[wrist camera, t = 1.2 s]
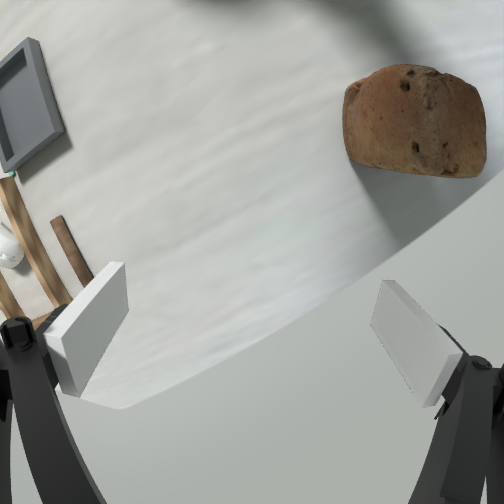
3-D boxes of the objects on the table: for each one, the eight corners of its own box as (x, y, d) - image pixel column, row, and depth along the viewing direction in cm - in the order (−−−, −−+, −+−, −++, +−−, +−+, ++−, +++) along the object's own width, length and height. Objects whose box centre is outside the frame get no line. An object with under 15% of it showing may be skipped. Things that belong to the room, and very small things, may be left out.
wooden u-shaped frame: (-29, 215, 37) (-41, 220, 34) (12, 175, 36) (-2, 179, 33) (29, 328, 45) (20, 338, 42) (77, 308, 44) (67, 319, 40)
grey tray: (-9, 83, 30) (-20, 82, 27) (38, 40, 29) (27, 36, 26) (15, 170, 36) (4, 173, 33) (66, 131, 35) (54, 131, 32)
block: (392, 161, 38) (493, 184, 19) (342, 164, 38) (426, 187, 19) (384, 84, 34) (482, 56, 15) (333, 83, 34) (410, 39, 15)
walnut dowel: (58, 217, 39) (48, 223, 38) (62, 213, 38) (52, 219, 37) (93, 286, 43) (84, 293, 42) (99, 285, 42) (90, 292, 40)
